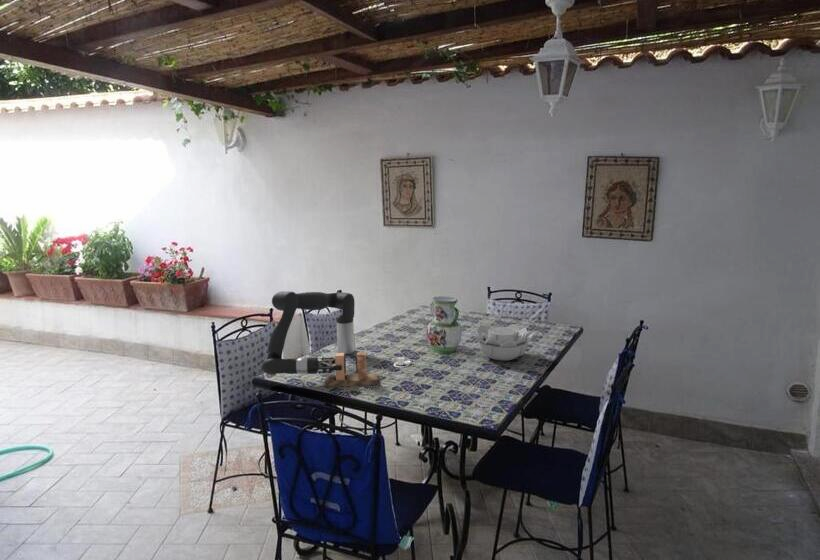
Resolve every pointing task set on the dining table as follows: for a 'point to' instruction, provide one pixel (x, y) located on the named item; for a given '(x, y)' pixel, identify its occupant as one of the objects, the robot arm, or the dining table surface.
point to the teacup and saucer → (402, 362)
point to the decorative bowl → (502, 341)
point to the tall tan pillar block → (340, 360)
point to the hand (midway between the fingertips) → (342, 364)
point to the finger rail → (354, 375)
